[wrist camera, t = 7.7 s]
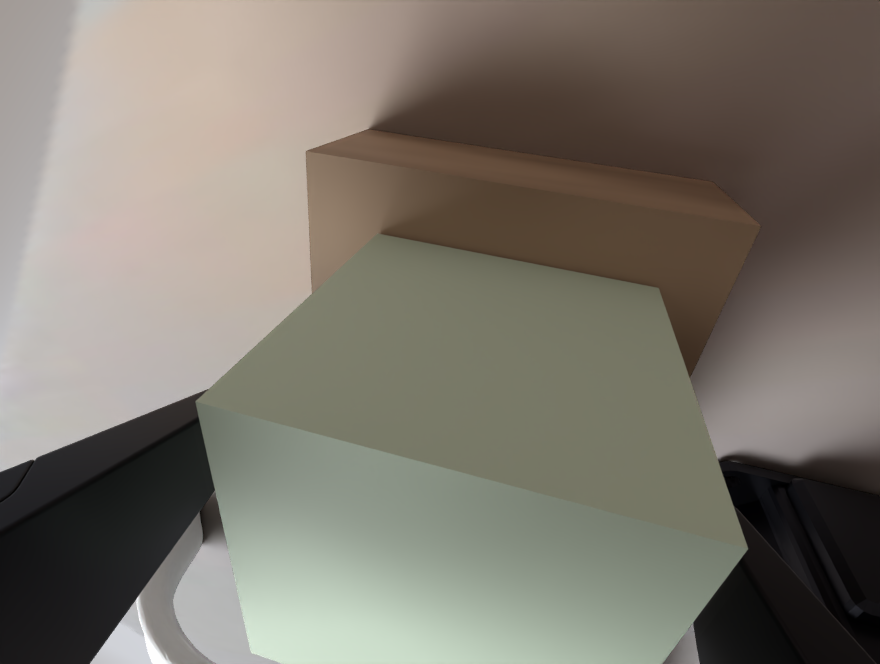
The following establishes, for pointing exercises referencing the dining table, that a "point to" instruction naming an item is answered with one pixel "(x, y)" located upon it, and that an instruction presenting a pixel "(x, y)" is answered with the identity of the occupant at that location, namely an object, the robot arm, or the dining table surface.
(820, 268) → the dining table surface
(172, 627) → the spoon rest
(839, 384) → the dining table surface
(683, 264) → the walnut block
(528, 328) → the sage block
